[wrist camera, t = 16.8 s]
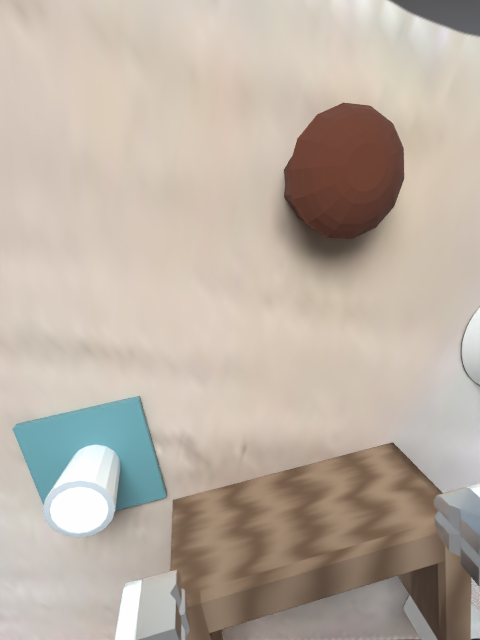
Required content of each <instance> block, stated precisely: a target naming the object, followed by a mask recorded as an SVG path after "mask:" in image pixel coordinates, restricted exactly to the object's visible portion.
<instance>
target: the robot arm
mask: <svg viewBox="0 0 480 640" xmlns="http://www.w3.org/2000/svg"><path fill="white" fill-rule="evenodd" d="M462 360H463V364H464V367H465V370H466V372H467V373H468V375H469V376H470V378H471V379H472V380H473V381H474V382H476V383H477V384H479V385H480V308H479V309H478V310H477V312H476V313H475V314H474V316H473V317H472V319H471V321H470V322H469V324H468V326H467V329H466V331H465V334H464V338H463V343H462ZM434 506H435V507H436V509H437V510H438V512H437V514H436V515H435V517H434V520H435V528H436V530H437V533H438V535H439V537H440V539H441V541H442V542H443V544H444V545H445V546H446V547H447V549H448V550H449V551H450V552H452V553H454V554H456V555H458V556H460V562H461V566H462V567H463V568H464V569H465V570H466V571H467V573H468V574H469V575H470V576H471V577H472V579H473V580H474V581H475V582H476V583H477V585H478V586H480V483H478V484H475V485H471V486H468V487H465V488H460V489H457V490H453V491H450V492H447V493H443V494H440V495H437V496H436V497H435V498H434ZM189 631H190V617H189V607H188V601H187V596H186V592H185V590H184V589H183V588H182V578H181V575H180V572H179V570H174V571H170V572H166V573H162V574H158V575H154V576H150V577H146V578H143V579H139V580H136V581H132V582H128V583H126V584H125V587H124V589H123V594H122V600H121V605H120V611H119V617H118V623H117V629H116V635H115V640H188V639H187V634H188V632H189Z"/></svg>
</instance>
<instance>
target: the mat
mask: <svg viewBox="0 0 480 640" xmlns="http://www.w3.org/2000/svg"><path fill="white" fill-rule="evenodd" d="M13 431H14V433H15V436H16V438H17V441H18V443H19V446H20V448H21V451H22V453H23V456H24V458H25V461H26V463H27V466H28V468H29V470H30V473H31V475H32V478H33V480H34V483H35V485H36V488H37V490H38V493H39V495H40V498H41V500H42V503H43V505H44V502H45V499H46V497H47V496H48V494H49V493H50V491H51V489H52V488H53V486H54V485H55V483H56V482H57V480H58V479H59V477H60V476H61V474H62V473H63V471H64V470H65V468H66V467H67V465H68V464H69V462H70V461H71V459H72V458H73V456H74V455H75V454H76V453H77V452H78V450H80V449H82V448H84V447H86V446H90V445H102V446H107V447H108V448H110V449H112V450H113V451H115V453H116V454H117V456H118V457H119V460H120V465H121V466H120V475H119V483H118V491H117V499H116V507H115V511H117V510H121V509H125V508H128V507H132V506H136V505H140V504H144V503H148V502H151V501H155V500H159V499H163V498H166V494H167V491H166V488H165V484H164V481H163V477H162V474H161V470H160V467H159V463H158V460H157V456H156V452H155V449H154V445H153V442H152V438H151V435H150V431H149V428H148V424H147V421H146V417H145V413H144V410H143V406H142V403H141V399H140V396H137V397H133V398H128V399H124V400H119V401H115V402H111V403H106V404H102V405H98V406H93V407H89V408H85V409H80V410H76V411H71V412H67V413H63V414H58V415H54V416H50V417H45V418H41V419H36V420H32V421H28V422H23V423H19V424H16V425H15V427H14V428H13Z"/></svg>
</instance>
